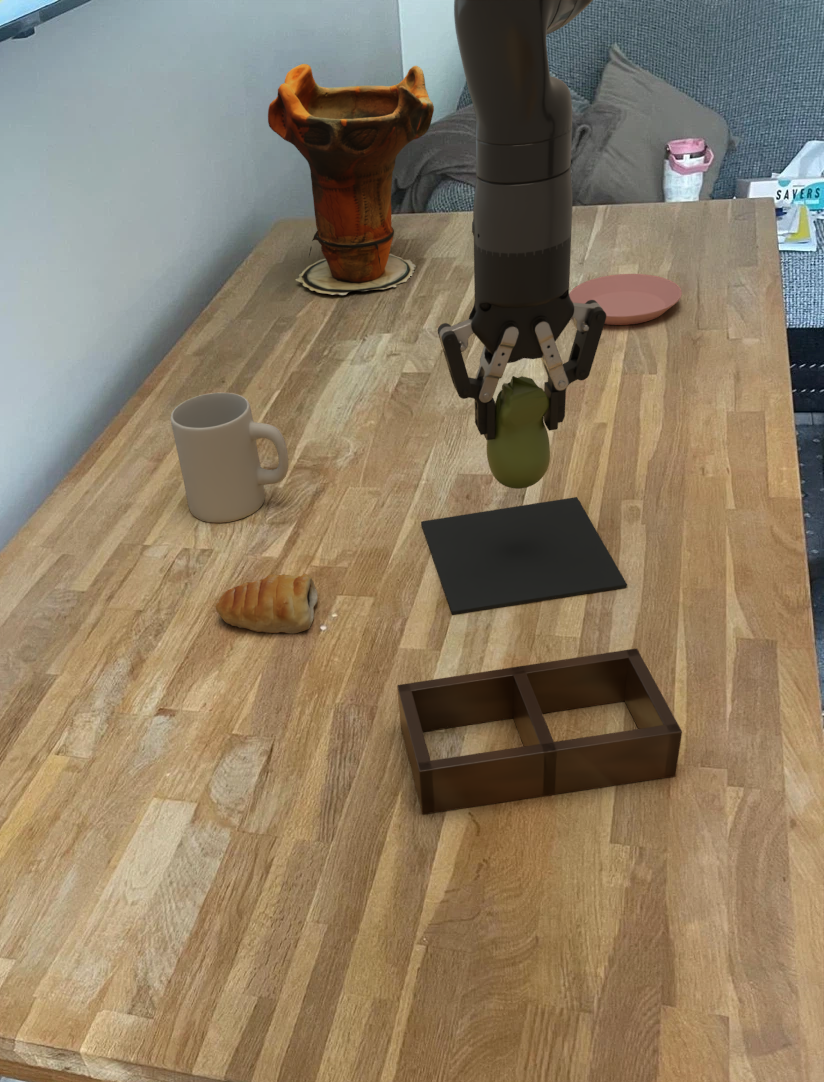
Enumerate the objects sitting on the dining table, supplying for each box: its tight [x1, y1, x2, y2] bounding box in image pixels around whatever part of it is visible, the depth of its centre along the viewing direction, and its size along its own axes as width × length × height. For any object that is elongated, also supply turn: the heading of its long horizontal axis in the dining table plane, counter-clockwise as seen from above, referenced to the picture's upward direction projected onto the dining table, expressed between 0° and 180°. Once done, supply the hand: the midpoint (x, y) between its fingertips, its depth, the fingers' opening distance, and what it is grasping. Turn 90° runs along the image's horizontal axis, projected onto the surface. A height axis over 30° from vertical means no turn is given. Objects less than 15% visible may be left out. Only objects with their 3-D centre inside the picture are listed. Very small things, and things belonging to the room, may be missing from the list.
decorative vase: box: [267, 63, 435, 296], centre depth 157 cm, size 21×23×28 cm
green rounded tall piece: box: [486, 375, 551, 490], centre depth 97 cm, size 6×5×10 cm
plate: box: [569, 273, 683, 326], centre depth 144 cm, size 14×14×2 cm
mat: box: [420, 496, 628, 615], centre depth 105 cm, size 16×16×1 cm
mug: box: [170, 391, 289, 524], centre depth 116 cm, size 12×8×11 cm
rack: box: [396, 648, 683, 815], centre depth 83 cm, size 19×10×4 cm, turn 95°
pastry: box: [215, 573, 319, 634], centre depth 102 cm, size 9×7×4 cm
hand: (519, 430), depth 97 cm, fingers closed on green rounded tall piece, 5 cm apart
